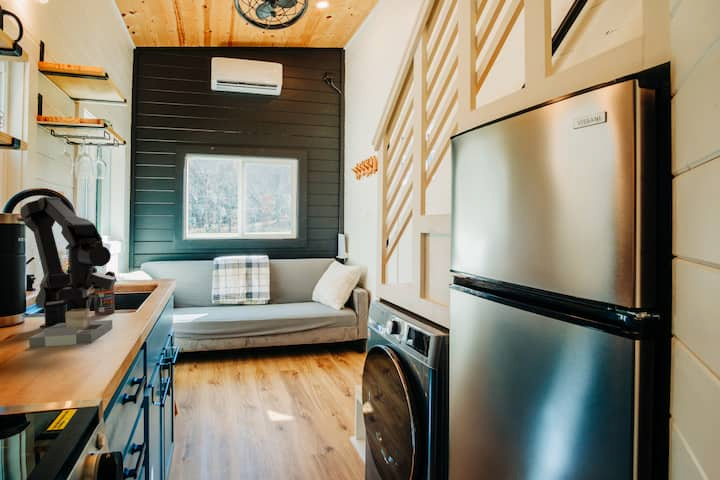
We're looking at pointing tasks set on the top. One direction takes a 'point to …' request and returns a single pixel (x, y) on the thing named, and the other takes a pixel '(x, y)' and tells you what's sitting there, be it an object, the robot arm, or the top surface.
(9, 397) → the top surface
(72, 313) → the maple block
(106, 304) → the supplement bottle
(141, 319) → the top surface
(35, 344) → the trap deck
